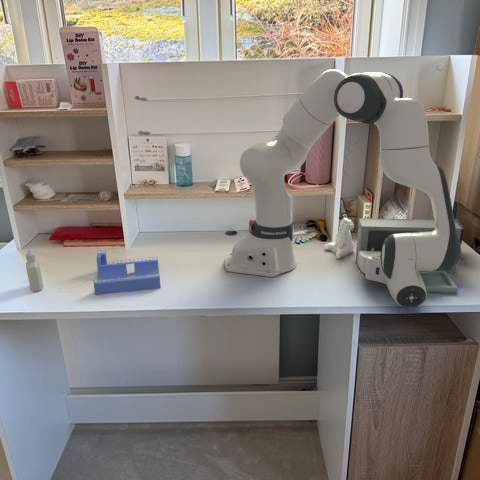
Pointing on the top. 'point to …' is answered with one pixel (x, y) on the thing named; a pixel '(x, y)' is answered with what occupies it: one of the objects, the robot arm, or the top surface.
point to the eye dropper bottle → (33, 272)
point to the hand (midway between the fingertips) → (389, 250)
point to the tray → (439, 282)
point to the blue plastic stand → (125, 276)
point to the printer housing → (390, 231)
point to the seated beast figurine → (342, 240)
